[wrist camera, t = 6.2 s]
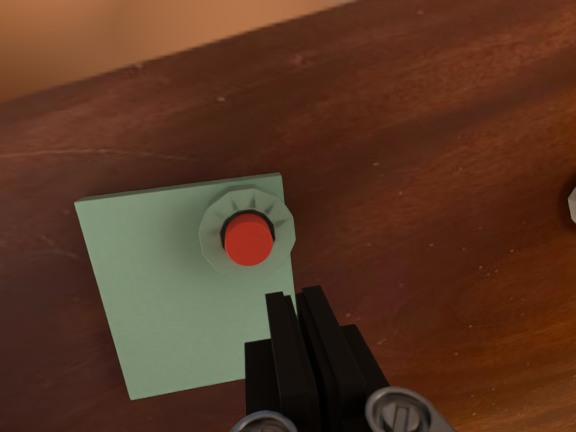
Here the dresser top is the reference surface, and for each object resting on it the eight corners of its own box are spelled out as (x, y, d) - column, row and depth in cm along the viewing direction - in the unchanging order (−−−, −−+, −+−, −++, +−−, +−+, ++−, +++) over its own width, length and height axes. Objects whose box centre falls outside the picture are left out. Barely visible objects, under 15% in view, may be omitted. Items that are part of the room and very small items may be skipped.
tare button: (222, 216, 20) (221, 225, 18) (267, 209, 20) (269, 218, 19) (229, 258, 21) (228, 270, 19) (272, 251, 21) (275, 262, 19)
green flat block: (83, 197, 21) (60, 209, 18) (282, 171, 23) (289, 179, 20) (135, 385, 25) (123, 419, 22) (302, 354, 27) (310, 382, 24)
